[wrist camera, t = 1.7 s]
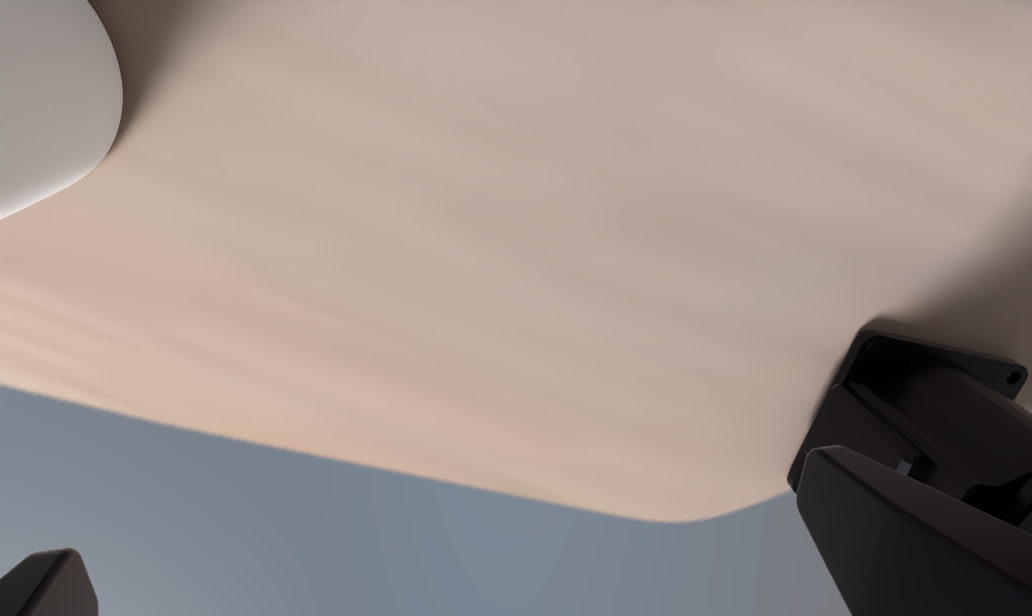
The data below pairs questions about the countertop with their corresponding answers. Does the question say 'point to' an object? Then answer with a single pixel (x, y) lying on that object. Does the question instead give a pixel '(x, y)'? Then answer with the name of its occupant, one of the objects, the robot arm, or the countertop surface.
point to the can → (53, 98)
